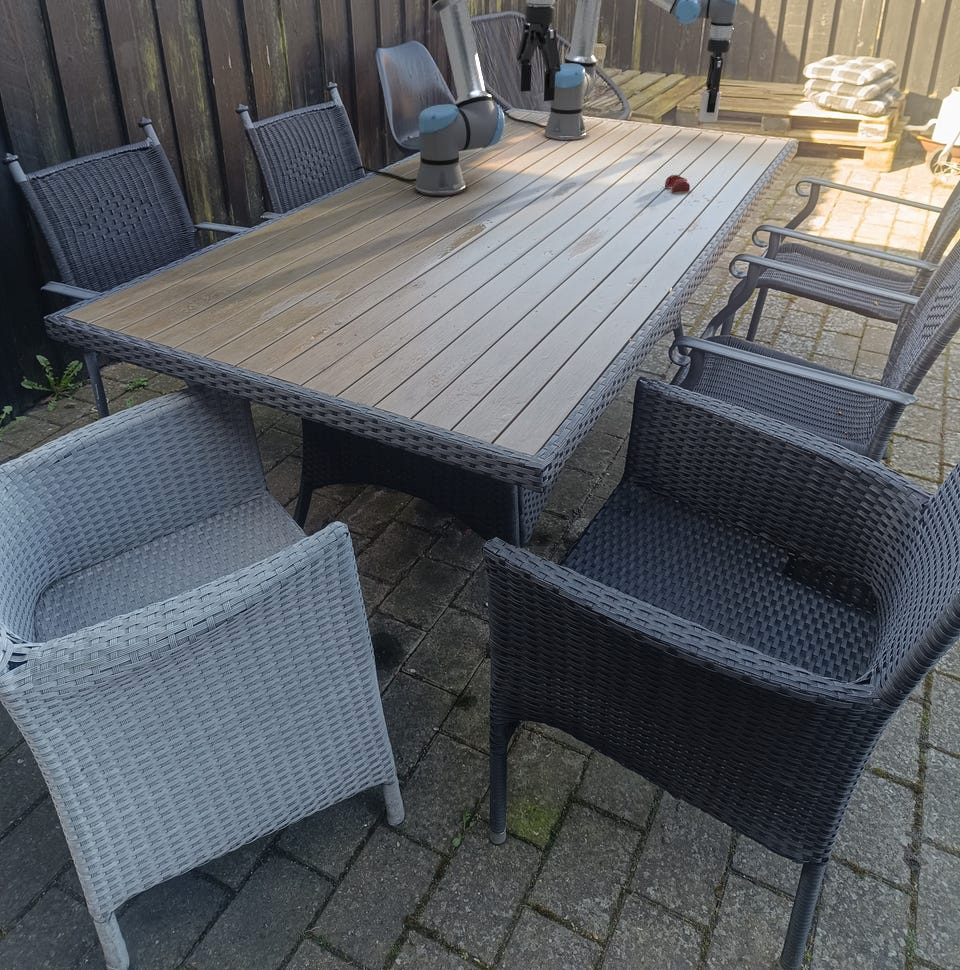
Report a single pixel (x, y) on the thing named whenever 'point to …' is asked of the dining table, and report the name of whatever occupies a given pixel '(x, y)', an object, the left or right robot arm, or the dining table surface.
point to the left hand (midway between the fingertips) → (537, 95)
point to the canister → (703, 108)
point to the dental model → (677, 183)
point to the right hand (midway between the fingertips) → (708, 110)
